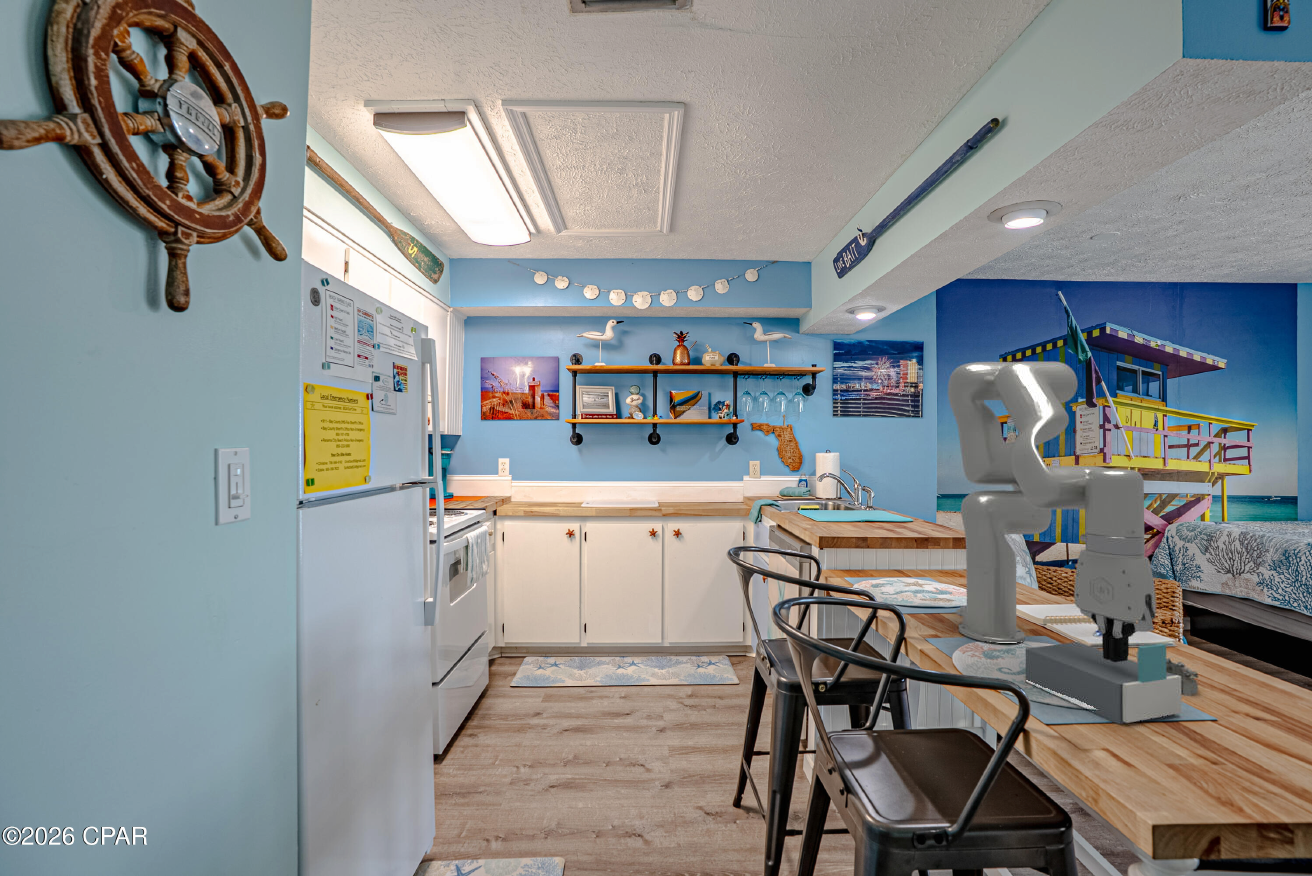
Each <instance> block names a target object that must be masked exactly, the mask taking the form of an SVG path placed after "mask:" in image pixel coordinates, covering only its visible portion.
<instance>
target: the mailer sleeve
mask: <svg viewBox="0 0 1312 876" xmlns="http://www.w3.org/2000/svg"><path fill="white" fill-rule="evenodd" d="M1168 676H1175V675H1173V674H1170V673H1167V672H1166V677H1168ZM1026 680H1028V681H1031V682H1033V683H1035V684H1038V685H1040V686H1042V687H1044V688H1048V689H1050V690H1052V691H1055V692H1057V693H1060V694H1062V695H1066V696H1068V697H1071V698H1075V699H1077V700H1079V701H1081V702H1084V703H1086V704H1087V705H1090V706H1093V707H1094V708H1096V709H1098V710H1096V711H1094V713H1093V714H1095V713H1096V714H1095V715H1097V714H1098V716H1099V715H1100V717H1102V716H1103V717H1102V718H1104V717H1105V718H1104V719H1106V718H1107V719H1106V720H1108V719H1109V720H1108V721H1111V722H1113V723H1115V724H1117V725H1124V724H1127V723H1126V722H1124V721H1123V719H1122V687H1123V684H1124V683H1130V682H1137V681H1138V661H1134V660H1132V659H1129V658H1128V660H1127V661H1121V662H1112V661H1110V660H1106V659H1104V658H1103V649H1099V648H1096V647H1093V646H1092V645H1088V644H1084V643H1082V642H1078V641H1073V642H1066V643H1060V644H1059V643H1058V644H1050V645H1042V646H1036V647H1035V646H1034V647H1026V648H1025V681H1026ZM1129 723H1131V722H1129ZM1129 723H1128V724H1129Z"/></svg>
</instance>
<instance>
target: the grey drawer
mask: <svg viewBox="0 0 1312 876" xmlns="http://www.w3.org/2000/svg"><path fill="white" fill-rule="evenodd" d="M1137 651H1138V661H1137V662H1138V681H1137V682H1130V683H1124V684H1123V687H1122V719H1123V721H1124V722H1126V723H1125V724H1129V722H1130V723H1134V722H1140V720H1141V721H1145V720H1150V719H1151V718H1152V719H1155V718H1156V719H1157V718H1162V716H1163V717H1167V715H1168V716H1172V715H1173V714H1174V715H1177V714H1182V694H1181V676H1178V675H1175V676H1168V677H1166V659H1167V645H1166V644H1164V643H1157V644H1149V645H1141V646H1137ZM1152 719H1151V720H1152Z"/></svg>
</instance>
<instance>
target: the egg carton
mask: <svg viewBox="0 0 1312 876" xmlns="http://www.w3.org/2000/svg"><path fill="white" fill-rule="evenodd" d="M1136 660H1137V661H1136V662H1138V650H1137V652H1136ZM1166 672H1167V673H1170V674H1173V675H1178V676H1181V695H1183V696H1189V697H1191V696H1193V695H1195V696H1196V695H1198V690H1199V684H1198V681H1197V680H1196V679H1195V678H1197V679H1198V678H1199V676H1198V675H1199V674H1198V672H1197V671H1195V670H1194V671H1193V670H1192V669H1191V668H1188V667H1186V665H1185V664H1184V663H1183V662H1182V661H1178V662H1173V661H1172V660H1171V658H1166Z"/></svg>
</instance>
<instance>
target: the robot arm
mask: <svg viewBox="0 0 1312 876" xmlns="http://www.w3.org/2000/svg"><path fill="white" fill-rule="evenodd" d="M947 386H948V387H947V397H948V403H949V405H950V408H951V411H952V414H953V416H954V419H955V422H956V426H957V429H958V437H959V445H960V451H961V459H962V461H961V462H962V468H963V471H964V476H965V478H966V479H967V481H969V482H970V483H971V484H974V485H983V486H984V485H986V486H987V485H988V486H1012V488H1013V490H1005V489H1004V490H1003V489H1002V490H998V489H997V490H996V489H995V490H980V491H974V492H972V493H969V494H968V495H966V496H965V497H964V498H963V500H962V503H961V506H960V514H961V518H962V519H961V520H962V524H963V530H964V537H965V553H966V554H965V557H966V558H965V559H966V606H965V605H962V606H960V607H959V609H956V610H955V614H956V615H957V616H959V617H962V621H963V622H962V623H960V624H958V632H959V633H961V634H962V635H964V636H965V637H967V638H970V639H974V640H977V641H980V642H984V641H987V642H986V643H990V641H991V642H1021V641H1023V642H1025V640H1026V634H1025V632H1024V631H1022V630H1021V629H1019V628H1017V557H1016V554H1015V551H1014V548H1013V547H1012V545H1011V544H1010V543H1009V542H1008V540H1007V539H1006V537H1005V535H1006V536H1007V535H1037V534H1040V533H1043V532H1045V531H1046V530H1048V528H1049V526H1050V525H1051V521H1052V510H1084V511H1085V512H1084V513H1085V516H1084V517H1085V519H1084V521H1085V523H1084V524H1085V533H1082V534H1081V535H1080V538H1079V539H1080V541H1081V542H1082V543H1085V549H1081V550H1080V553H1079V556H1078V559H1077V564H1076V569H1075V570H1076V571H1075V577H1074V594H1073V595H1074V596H1073V597H1074V605H1075V606H1076V607H1077V608H1078V609H1079V612H1080V613H1081V615H1083V616H1085V617H1087V618H1089V619H1092V621H1093V623H1095V625H1096V626H1097V631H1098V632H1099V634H1101V635H1102V637H1101V639H1102V640H1101V641H1102V645H1101V646H1102V648H1101V650H1102V651H1103V658H1104V659H1106V660H1110V661H1112V662H1121V661H1127V660H1128V659H1129V653H1130V652H1129V650H1130V649H1129V647H1130V646H1129V644H1130V643H1129V642H1130V641H1129V638H1130V637H1133V635H1134V634H1135V633H1137V632H1138V633H1139V632H1141V633H1142V632H1144V633H1146V632H1153V631H1154V629H1155V628H1154V625H1153V620H1154V619H1155V617H1156V614H1157V612H1156V611H1157V610H1156V609H1157V605H1156V603H1157V602H1156V600H1157V598H1156V589H1155V583H1154V581H1155V579H1154V576H1153V571H1152V567H1151V566H1152V565H1151V563H1150V559H1149V558H1148V557H1145V503H1144V502H1145V499H1144V498H1145V497H1144V496H1145V495H1144V494H1145V492H1144V491H1145V489H1144V488H1145V486H1144V483H1145V482H1144V477H1143V476H1142V474H1141V473H1140V472H1139V471H1136V470H1133V469H1124V468H1123V469H1122V468H1121V469H1120V468H1108V467H1107V468H1106V467H1101V466H1091V465H1089V466H1087V465H1086V466H1083V465H1063V466H1062V465H1049V466H1048V465H1046V463H1045V461H1044V459H1043V456H1042V455H1041V453H1040V451H1039V450H1038V448H1037V446H1038V445H1041V444H1043V443H1045V442H1048V441H1050V440H1052V439H1054V438H1057V436H1058V435H1060V434H1061V433H1062V432H1063V431H1065V430H1066V428H1067V426H1068V425H1069V421H1070V419H1069V414H1068V413H1067V411H1066V410H1065V408H1064V407H1063V405H1062V404H1063V403H1066V402H1068V401H1070V400H1071V399H1073V397H1074V396H1075V394H1076V392H1077V389H1078V378H1077V375H1076V373H1075V371H1074V370H1073V369H1072V368H1071V367H1070V366H1069V365H1068V364H1066V363H1064V362H1060V361H976V362H969V363H964V364H961V365H960V366H958V367H956V368H955V369H954V370H953V371H952V373H951V375H950V377H949V379H948V385H947ZM985 401H1001V403H1002V404H1003V406H1004V408H1005V410H1006V411H1007V413H1008V414H1009V417H1010V419H1011V421H1012V423H1013V425H1014V427H1015V428H1016V430H1017V431H1018V434H1017V436H1016V437H1015V440H1014V441H1012V442H1010V441H1009V442H1007V441H1005V440H1004V438H1003V433H1002V426H1001V425H1002V424H1001V422H1000V419H999V418H998V416H997V415H996V414H995V412H994V411H993V409H991V408H990V407H989V406H988V405H987V404H986V403H985ZM1021 643H1022V642H1021Z"/></svg>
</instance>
